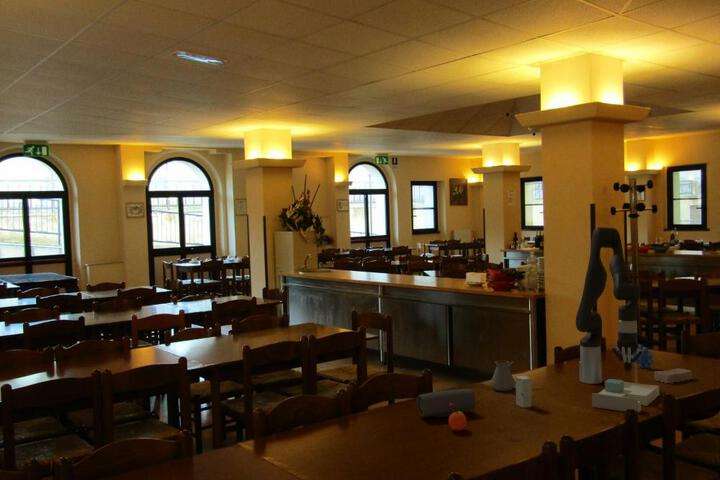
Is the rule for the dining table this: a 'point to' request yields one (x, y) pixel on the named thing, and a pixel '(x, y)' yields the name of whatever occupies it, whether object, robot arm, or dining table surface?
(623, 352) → the robot arm
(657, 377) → the brick
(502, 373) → the coffee pot
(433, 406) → the bluetooth speaker
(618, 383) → the block
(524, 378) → the skincare box
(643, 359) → the grapes
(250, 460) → the dining table surface
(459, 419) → the clementine
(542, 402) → the dining table surface
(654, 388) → the tray
